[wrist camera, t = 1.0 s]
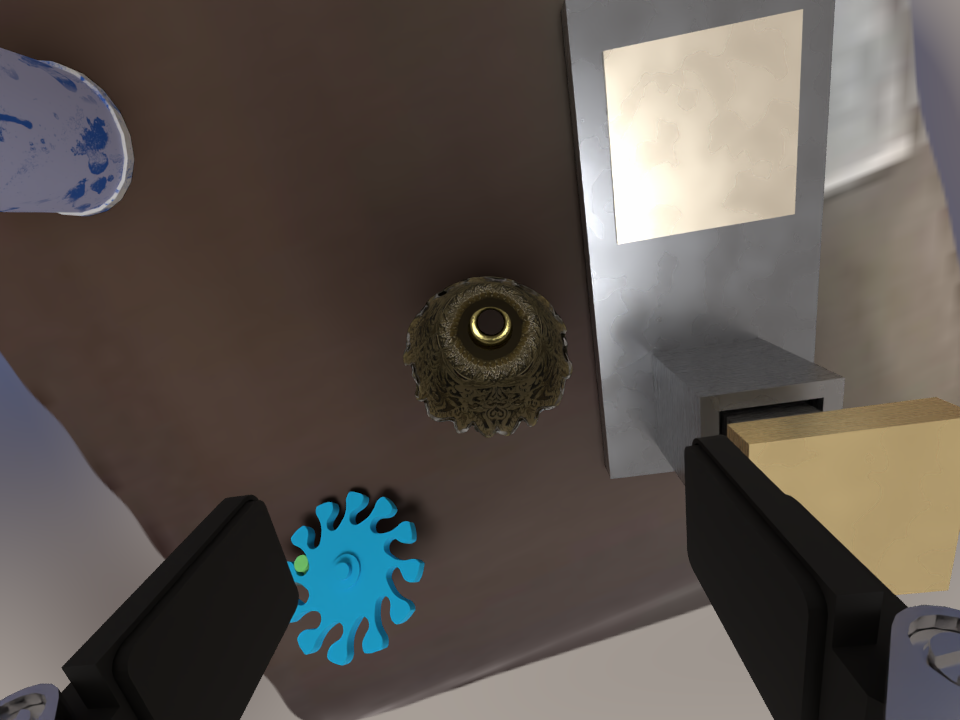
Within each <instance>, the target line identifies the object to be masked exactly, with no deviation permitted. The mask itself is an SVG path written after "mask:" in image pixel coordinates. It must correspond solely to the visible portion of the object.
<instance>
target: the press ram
mask: <svg viewBox="0 0 960 720" xmlns="http://www.w3.org/2000/svg"><path fill="white" fill-rule="evenodd" d="M719 435H725V436H726V437H728V438H729V439H730V440H731V441H732V442H733V443H734V444H735V445H736V446H737V447H738V448H739V449H740V450H741V451H742V452H743V453H744V454H745V455H746V456H747V457H748V458H749V459H750V460H751V461H752V462H753V463H754V464H755V465H756V466H757V467H758V468H759V469H760V470H761V471H762V472H763V473H764V474H765V475H766V476H767V477H768V478H769V479H770V480H771V481H772V482H773V483H774V484H775V485H776V486H777V487H778V488H779V489H780V490H781V491H782V492H783V493H784V494H786V495H790V496H792V497H793V498H795V499H796V500H797V501H798V502H800V503H801V504H802V505H803V506H804V507H805V508H806V509H807V510H808V511H809V512H810V513H811V514H812V515H813V516H814V517H815V518H816V519H817V520H818V521H819V522H820V523H821V524H822V525H823V526H824V527H825V528H826V529H827V530H828V531H830V532H831V533H832V534H833V535H834V536H835V537H836V538H837V539H838V540H839V541H840V542H841V543H842V544H843V545H844V546H845V547H846V548H847V549H848V550H849V551H850V552H851V553H852V554H853V555H854V556H855V557H856V558H857V559H859V560H860V561H861V562H862V563H863V564H864V565H865V566H866V567H867V568H868V569H869V570H870V571H871V572H872V573H873V574H874V575H875V576H876V577H877V578H878V579H879V580H880V581H881V582H882V583H883V584H884V585H885V586H886V587H888V588H889V589H890V590H891V591H892V592H893V593H894V594H895V595H900V594H912V593H922V592H933V591H945V590H948V589H949V584H950V578H951V573H952V567H953V562H954V557H955V551H956V546H957V541H958V535H959V530H960V407H959V406H956V405H954V404H951V403H949V402H947V401H944V400H942V399H939V398H937V397H933V398H925V399H918V400H910V401H902V402H894V403H887V404H879V405H871V406H864V407H856V408H848V409H840V410H833V411H825V412H821V411H819V410H818V409H816V408H814V407H813V406H811V405H809V404H808V403H806V402H805V401H803V400H801V401H793V402H786V403H778V404H771V405H763V406H756V407H748V408H740V409H733V410H725V411H719Z"/></svg>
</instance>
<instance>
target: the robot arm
mask: <svg viewBox="0 0 960 720" xmlns="http://www.w3.org/2000/svg"><path fill="white" fill-rule="evenodd" d="M684 464H685V494H686V525H687V551H688V557H689V561H690V564H691V566H692V569H693V571H694V573H695V574H696V576H697V578H698V580H699V582H700V584H701V586H702V587H703V589H704V591H705V593H706V595H707V597H708V598H709V600H710V602H711V604H712V606H713V608H714V610H715V611H716V613H717V615H718V617H719V619H720V621H721V622H722V624H723V626H724V628H725V630H726V632H727V634H728V635H729V637H730V639H731V640H732V643H733V644H734V646H735V648H736V650H737V652H738V654H739V656H740V657H741V659H742V661H743V663H744V665H745V667H746V669H747V670H748V672H749V674H750V676H751V678H752V680H753V682H754V683H755V685H756V687H757V689H758V691H759V693H760V694H761V696H762V698H763V700H764V702H765V704H766V705H767V707H768V709H769V711H770V713H771V715H772V717H773V718H774V720H960V610H957V609H953V608H948V607H945V606H933V605H919V606H914V607H907V606H906V605H905V604H904V603H903V602H902V601H901V600H900V599H899V598H898V597H897V596H896V595H895V594H894V593H893V592H892V591H891V590H890V589H889V588H888V587H886V586H885V585H884V584H883V583H882V582H881V581H880V580H879V579H878V578H877V577H876V576H875V575H874V574H873V573H872V572H871V571H870V570H869V569H868V568H867V567H866V566H865V565H864V564H863V563H862V562H861V561H860V560H859V559H857V558H856V557H855V556H854V555H853V554H852V553H851V552H850V551H849V550H848V549H847V548H846V547H845V546H844V545H843V544H842V543H841V542H840V541H839V540H838V539H837V538H836V537H835V536H834V535H833V534H832V533H831V532H830V531H828V530H827V529H826V528H825V527H824V526H823V525H822V524H821V523H820V522H819V521H818V520H817V519H816V518H815V517H814V516H813V515H812V514H811V513H810V512H809V511H808V510H807V509H806V508H805V507H804V506H803V505H802V504H801V503H800V502H798V501H797V500H796V499H795V498H793V497H792V496H790V495H786V494H784V493H783V492H782V491H781V490H780V489H779V488H778V487H777V486H776V485H775V484H774V483H773V482H772V481H771V480H770V479H769V478H768V477H767V476H766V475H765V474H764V473H763V472H762V471H761V470H760V469H759V468H758V467H757V466H756V465H755V464H754V463H753V462H752V461H751V460H750V459H749V458H748V457H747V456H746V455H745V454H744V453H743V452H742V451H741V450H740V449H739V448H738V447H737V446H736V445H735V444H734V443H733V442H732V441H731V440H730V439H729V438H728V437H726V436H725V435H716V436H708V437H700V438H695V439H694V440H693V442H692V446H686V447H685V450H684ZM298 601H299V594H298V590H297V587H296V584H295V582H294V579H293V576H292V574H291V571H290V568H289V566H288V563H287V561H286V558H285V555H284V553H283V550H282V547H281V545H280V542H279V539H278V537H277V534H276V531H275V529H274V526H273V524H272V521H271V518H270V516H269V513H268V510H267V508H266V505H265V504H264V502H263V501H261V500H258V498H257V497H255V496H254V495H245V496H237V497H230V498H225V499H224V500H223V501H222V502H221V503H220V504H219V505H218V506H217V507H216V508H215V509H214V510H213V511H212V512H211V513H210V514H209V515H208V516H207V517H206V518H205V519H204V520H203V521H202V522H201V523H200V524H199V525H198V526H197V527H196V529H195V530H194V531H193V532H192V533H191V534H190V535H189V536H188V537H187V538H186V539H185V540H184V541H183V542H182V543H181V544H180V545H179V546H178V547H177V548H176V549H175V550H174V551H173V552H172V553H171V554H170V555H169V557H168V558H167V559H166V560H165V561H164V562H163V563H162V564H161V565H160V566H159V567H158V568H157V569H156V570H155V571H154V572H153V573H152V574H151V575H150V576H149V577H148V578H147V579H146V580H145V581H144V583H143V584H142V585H141V586H140V587H139V588H138V589H137V590H136V591H135V592H134V593H133V594H132V595H131V596H130V597H129V598H128V599H127V600H126V601H125V602H124V603H123V604H122V605H121V607H119V608H118V609H117V610H116V612H115V613H114V614H113V615H112V616H111V617H110V618H109V619H108V620H107V621H106V622H105V623H104V624H103V625H102V626H101V627H100V628H99V629H98V630H97V631H96V632H95V633H94V634H93V635H92V636H91V637H90V638H89V640H88V641H87V642H86V643H85V644H84V645H83V646H82V647H81V648H80V649H79V650H78V651H77V652H76V653H75V654H74V655H73V656H72V657H71V658H70V660H68V661H67V662H66V663H65V665H63V667H62V669H63V671H64V672H65V674H66V675H67V677H68V679H69V680H70V682H71V683H70V684H69V685H68V686H67V687H66V688H65V689H64V690H63V691H62V693H61V692H60V690H59V689H58V688H57V687H56V686H54V685H53V684H38V685H34V686H31V687H27V688H24V689H22V690H20V691H18V692H16V693H14V694H11V695H9V696H7V697H5V698H4V699H2V700H0V720H240V718H241V716H242V714H243V713H244V711H245V709H246V706H247V705H248V703H249V701H250V699H251V697H252V695H253V693H254V691H255V689H256V687H257V685H258V683H259V681H260V679H261V677H262V675H263V674H264V672H265V670H266V668H267V666H268V664H269V662H270V660H271V658H272V656H273V654H274V652H275V650H276V648H277V646H278V644H279V642H280V640H281V638H282V636H283V635H284V633H285V631H286V629H287V627H288V625H289V623H290V621H291V619H292V617H293V615H294V613H295V611H296V609H297V606H298Z"/></svg>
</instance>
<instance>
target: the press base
mask: <svg viewBox="0 0 960 720" xmlns="http://www.w3.org/2000/svg"><path fill="white" fill-rule="evenodd" d="M834 11H835V0H564V3H563V6H562V10H561V18H562V29H563V39H564V49H565V59H566V70H567V80H568V90H569V100H570V110H571V121H572V131H573V141H574V151H575V161H576V172H577V182H578V192H579V202H580V213H581V223H582V233H583V243H584V253H585V264H586V274H587V284H588V294H589V305H590V315H591V325H592V335H593V345H594V356H595V366H596V376H597V386H598V397H599V407H600V417H601V427H602V437H603V448H604V458H605V467H606V469H607V471H608V474H609V476H610V479H614V478H622V477H631V476H639V475H647V474H655V473H664V472H672V471H675V472H676V474H677V475H678V477H679V478H680V479H681V481H682V482H683V484H684V485H685V464H684V450H685V447H686V446H692V442H693V440H694V439H695V438H700V437H708V436H716V435H719V411H725V410H733V409H740V408H748V407H756V406H763V405H771V404H778V403H786V402H793V401H801V400H803V401H805V402H806V403H808V404H809V405H811V406H813V407H814V408H816V409H818V410H819V411H821V412H825V411H833V410H840V409H842V407H843V395H844V383H845V377H842V376H840V375H838V374H836V373H834V372H832V371H830V370H827V369H825V368H823V367H821V366H819V365H817V364H815V363H814V352H815V335H816V318H817V301H818V283H819V266H820V249H821V232H822V215H823V198H824V181H825V164H826V147H827V130H828V113H829V96H830V79H831V62H832V45H833V28H834Z"/></svg>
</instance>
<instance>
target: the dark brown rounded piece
mask: <svg viewBox="0 0 960 720" xmlns="http://www.w3.org/2000/svg"><path fill="white" fill-rule="evenodd" d="M489 309H493V310H496V311H498V312H499V313H501V315H502V316H503V318H504V326H503V329H502V330H501V331H500V332H499V333H498V334H496V335H492V336H490V335H486V334H484V333H482V332H481V331H480V330H479V328H478V325H477V320H478V317H479V315H480V314H481V313H482V312H483V311H485V310H489ZM566 332H567V329H566V327H565V324H564V323H563V321H562V319H561V318H560V317H559V315H558V314H557V313H556V312H555V310H554V308H553V307H552V305H551V304H550V303H549V302H548V301H547V300H546V299H545V298H544V297H543V296H542V295H540V294H539V293H537V292H535V291H534V290H532V289H530V288H529V287H526V286H524V285H522V284H520V283H518V282H515V281H514V280H510V279H506V278H502V277H494V276H484V277H473V278H469V279H467V280H463V281H460V282H457V283H455V284H453V285H451V286H449V287H447V288H445V289H444V290H443V291H442V292H440V293H437V294H435V295H434V296H433V297H432V298H430V299H429V300H428V301H427V303H426V305H425V307H424V308H423V309H422V310H421V311H420V313H418V314H417V315H416V317H415V318H414V320H413V321H412V323H411V325H410V327H409V329H408V332H407V341H406V347H407V348H406V349H405V351H404V355H403V362H404V364H405V365H411V368H412V377H413V378H414V379H415V381H416V392H415V396H416V399H417V400H418V401H424V403H425V407H426V410H427V414H428V416H429V417H430V418H431V419H433V420H434V421H437V422H444V421H451V422H453V423H454V428H455V429H456V431H457V433H464V432H467V430H468V428H469V427H471V426H472V425H473V426H474V428H475V430H476V431H477V432H480V433H481V434H482V435H483V436H485V437H487V438H489V437H492V436H493V435H494V434H495V433H497V432H498V433H500V434H502V435H505V436H509V435H511V434H513V433H514V432H515V431H516V429H517V428H518V426H519V424H520V422H521V421H522V420H523V421H525V422H526V423H527V425H528V426H530V427H532V426H534V425H535V424H536V423H537V421H538V416H539V413H540V412H542V411H543V410H551V409H553V408H555V407H556V406H558V405H559V403H560V401H561V399H562V396H563V393H564V388H565V382H566V379H569V377H570V376H571V374H572V362H571V361H570V360H569V358H568V354H567V346H568V344H567V341H566V337H565V333H566ZM523 421H522V422H523Z"/></svg>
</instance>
